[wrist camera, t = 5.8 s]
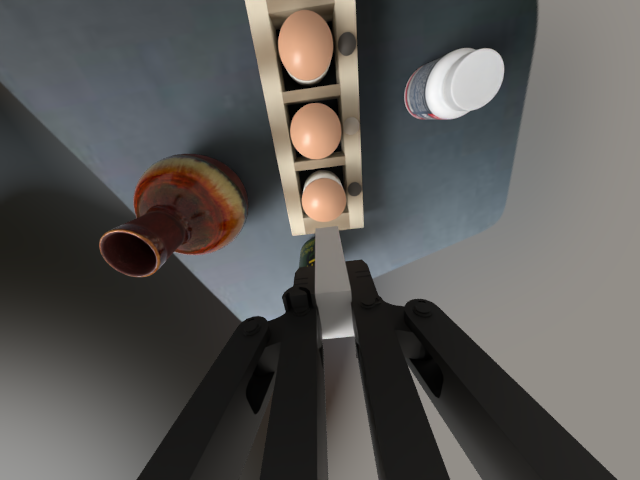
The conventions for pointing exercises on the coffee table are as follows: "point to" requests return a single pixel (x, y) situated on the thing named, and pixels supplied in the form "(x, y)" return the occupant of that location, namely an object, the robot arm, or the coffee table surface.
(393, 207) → the coffee table surface
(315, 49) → the button
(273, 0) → the wooden egg tray
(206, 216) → the vase
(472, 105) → the pill bottle
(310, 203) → the button
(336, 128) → the button
